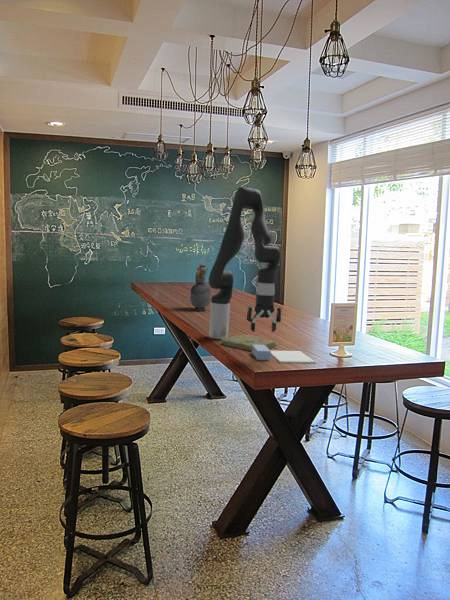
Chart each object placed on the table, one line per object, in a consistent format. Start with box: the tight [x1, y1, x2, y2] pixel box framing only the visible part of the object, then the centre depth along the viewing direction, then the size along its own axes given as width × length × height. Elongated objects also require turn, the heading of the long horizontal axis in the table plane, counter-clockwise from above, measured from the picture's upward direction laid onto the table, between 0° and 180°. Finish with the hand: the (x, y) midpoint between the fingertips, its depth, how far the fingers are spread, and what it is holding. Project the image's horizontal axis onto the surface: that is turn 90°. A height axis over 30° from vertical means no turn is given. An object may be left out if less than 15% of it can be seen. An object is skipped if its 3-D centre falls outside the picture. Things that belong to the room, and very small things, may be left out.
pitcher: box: [189, 263, 212, 312], centre depth 343 cm, size 11×19×30 cm, turn 20°
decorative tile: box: [220, 334, 277, 352], centre depth 245 cm, size 19×20×4 cm
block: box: [251, 345, 272, 361], centre depth 225 cm, size 12×6×4 cm, turn 7°
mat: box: [270, 350, 316, 364], centre depth 226 cm, size 19×15×1 cm
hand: (263, 331), depth 223 cm, fingers open, 8 cm apart
